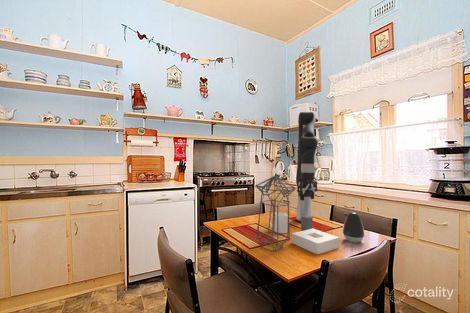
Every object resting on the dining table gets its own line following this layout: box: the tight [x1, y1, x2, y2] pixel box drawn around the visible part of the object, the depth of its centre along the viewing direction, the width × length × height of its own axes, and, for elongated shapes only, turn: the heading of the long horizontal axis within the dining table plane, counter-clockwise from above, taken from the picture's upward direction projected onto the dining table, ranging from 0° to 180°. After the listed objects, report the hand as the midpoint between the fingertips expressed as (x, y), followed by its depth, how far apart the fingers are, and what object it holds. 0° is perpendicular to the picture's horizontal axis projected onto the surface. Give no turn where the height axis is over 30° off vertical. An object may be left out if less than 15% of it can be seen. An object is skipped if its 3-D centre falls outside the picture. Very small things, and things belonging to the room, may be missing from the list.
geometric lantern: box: [254, 175, 297, 252], centre depth 112 cm, size 16×16×35 cm
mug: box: [267, 211, 288, 235], centre depth 137 cm, size 12×8×10 cm
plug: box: [300, 215, 314, 231], centre depth 133 cm, size 4×4×10 cm
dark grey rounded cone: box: [342, 211, 365, 244], centre depth 123 cm, size 10×10×15 cm
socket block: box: [291, 228, 340, 255], centre depth 116 cm, size 16×16×5 cm
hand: (307, 199), depth 133 cm, fingers open, 8 cm apart
